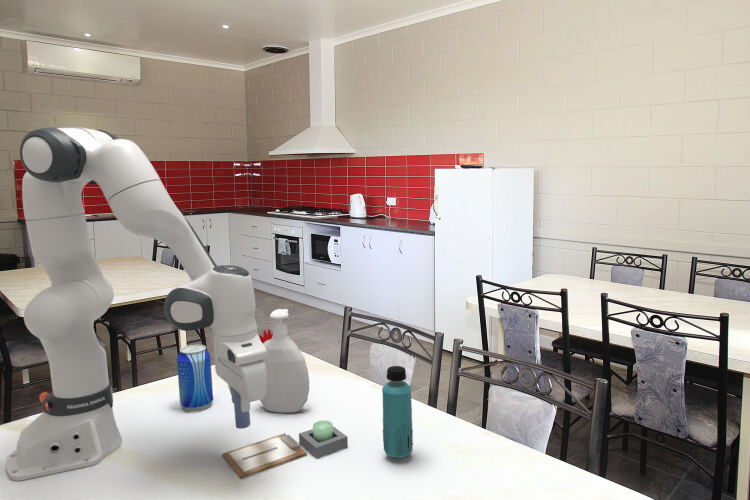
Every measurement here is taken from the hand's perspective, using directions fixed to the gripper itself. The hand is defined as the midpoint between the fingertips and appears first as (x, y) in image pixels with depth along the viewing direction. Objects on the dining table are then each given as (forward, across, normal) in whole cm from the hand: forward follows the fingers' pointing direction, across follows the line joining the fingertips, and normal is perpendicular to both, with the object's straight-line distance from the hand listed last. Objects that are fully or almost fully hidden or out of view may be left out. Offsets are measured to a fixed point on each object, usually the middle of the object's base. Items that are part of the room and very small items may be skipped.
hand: (241, 407), depth 111 cm
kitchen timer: (+13, -42, +24) cm, 51 cm away
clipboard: (+13, 0, +4) cm, 13 cm away
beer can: (+13, -35, 0) cm, 38 cm away
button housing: (+13, +4, +17) cm, 22 cm away
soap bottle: (+13, -19, +18) cm, 30 cm away
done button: (+12, +4, +17) cm, 21 cm away
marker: (+4, 0, 0) cm, 4 cm away
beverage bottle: (+14, +18, +28) cm, 35 cm away
